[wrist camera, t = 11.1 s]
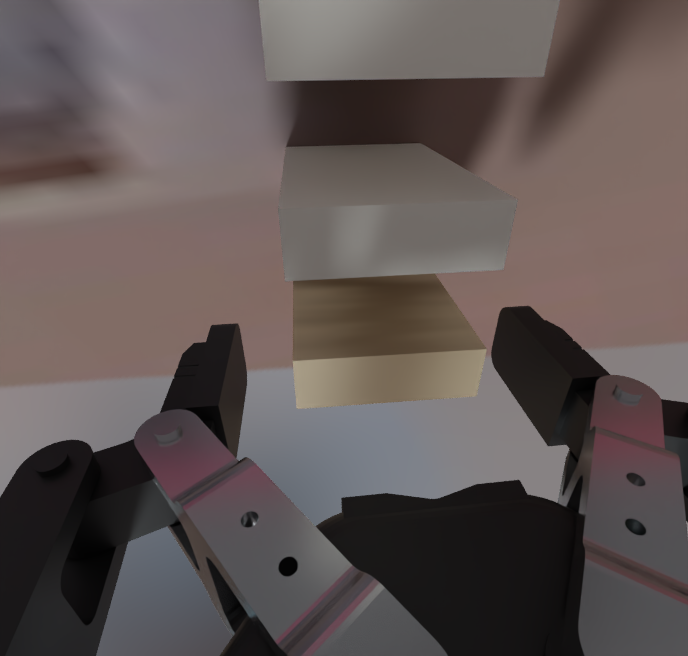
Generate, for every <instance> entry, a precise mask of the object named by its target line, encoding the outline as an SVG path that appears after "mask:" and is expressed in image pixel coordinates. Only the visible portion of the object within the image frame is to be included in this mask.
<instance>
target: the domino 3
mask: <svg viewBox="0 0 688 656" xmlns="http://www.w3.org/2000/svg"><path fill="white" fill-rule="evenodd" d="M486 350H487V349H486V347H485V346H484V344H483V343H482V341H481V340H480V339H479V337H478V336H477V334H476V333H475V331H474V330H473V328H472V327H471V326H470V324H469V323H468V321H467V320H466V318H465V317H464V315H463V314H462V313H461V311H460V310H459V308H458V307H457V305H456V304H455V302H454V301H453V299H452V298H451V297H450V295H449V294H448V292H447V291H446V289H445V288H444V286H443V285H442V284H441V282H440V281H439V279H438V278H437V276H436V275H435V273H433V274H415V275H396V276H377V277H358V278H339V279H321V280H302V281H293V370H294V381H295V393H296V405H297V409H303V408H317V407H330V406H331V407H332V406H345V405H358V404H359V405H360V404H373V403H387V402H402V401H416V400H430V399H444V398H458V397H472V396H477V391H478V387H479V382H480V378H481V373H482V369H483V364H484V359H485V355H486Z"/></svg>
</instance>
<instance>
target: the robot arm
mask: <svg viewBox="0 0 688 656" xmlns="http://www.w3.org/2000/svg"><path fill="white" fill-rule="evenodd" d="M581 348H582V347H581V346H580V345H579V344H578V343H577V342H575V341H573V339H572V338H571V337H570V336H569V335H568V334H567V333H566V332H565V331H564V330H563V329H562V328H560V327H558V326H556V325H554V324H552V323H550V322H548V321H547V320H543V319H542V318H541V317H540V316H539V315H538V314H537V313H536V312H535V311H534V310H533V309H532V308H531V307H530V306H518V307H504V308H503V309H502V310H501V311H500V314H499V318H498V323H497V327H496V332H495V336H494V341H493V346H492V352H491V356H492V362H493V365H494V368H495V369H496V371H497V372H498V374H499V375H500V377H501V378H502V380H503V381H504V382H505V384H506V385H507V387H508V388H509V390H510V391H511V393H512V394H513V396H514V397H515V399H516V400H517V401H518V403H519V404H520V406H521V407H522V409H523V410H524V412H525V413H526V414H527V416H528V418H529V419H530V420H531V422H532V423H533V425H534V426H535V428H536V429H537V431H538V432H539V434H540V435H541V436H542V438H543V439H544V441H545V442H546V444H547V445H548V446H556V445H567V446H568V447H569V451H568V454H567V456H566V460H565V466H564V471H563V476H562V482H561V487H560V492H559V498H558V503H556V502H554V501H551V500H548V499H545V498H541V497H537V496H532V495H527V493H526V491H525V489H524V487H523V486H522V484H521V482H520V481H519V480H514V481H504V482H494V483H485V484H476V485H474V486H471V487H468V488H466V489H463V490H461V491H458V492H455V493H452V494H450V495H447V496H444V497H441V498H438V499H426V498H419V497H411V496H404V495H395V494H388V493H385V494H375V495H365V496H355V497H345V498H342V513H339V514H337V515H334V516H332V517H330V518H328V519H327V520H324V521H323V522H321V523H320V524H318V525H317V526H314V524H312V522H311V521H310V520H309V519H308V518H307V517H306V516H305V515H304V514H303V513H302V512H301V511H300V510H299V509H298V508H297V507H296V506H295V505H294V503H293V502H291V500H290V499H289V498H288V497H287V496H286V495H285V494H284V493H283V492H282V491H281V490H280V489H279V488H278V487H277V486H276V485H275V483H273V482H272V480H271V479H270V478H269V477H268V476H267V475H266V474H265V473H264V472H263V471H262V470H261V469H260V468H259V467H258V466H257V465H256V464H255V463H254V462H253V461H252V460H251V459H249V458H247V457H245V458H243V459H242V460H240V461H238V460H237V459H236V457H237V451H238V444H239V437H240V430H241V423H242V415H243V409H244V402H245V394H246V386H247V370H246V363H245V357H244V351H243V345H242V339H241V333H240V328H239V325H238V324H221V325H212V326H211V328H210V331H209V334H208V337H207V341H206V342H202V343H194V344H193V345H192V346H190V347H189V348H188V349H187V350H186V351H185V352H184V353H183V354H182V357H181V360H180V362H179V365H178V368H177V370H176V373H175V375H174V379H173V380H172V383H171V386H170V388H169V391H168V394H167V396H166V398H165V401H164V404H163V406H162V409H161V412H160V413H159V414H157V415H155V416H153V417H151V418H150V419H148V420H147V421H145V422H144V423H143V424H142V425H141V426H140V427H139V429H138V430H137V432H136V434H135V437H134V439H133V440H131V441H128V442H126V443H123V444H120V445H117V446H114V447H110V448H107V449H104V450H101V451H97V452H94V453H93V451H92V449H91V447H90V446H89V445H88V444H87V443H85V442H83V441H79V440H66V441H61V442H57V443H54V444H51V445H49V446H46V447H44V448H42V449H41V450H39V451H37V452H35V453H34V454H33V455H31V456H30V457H29V458H28V459H26V460H25V461H24V462H23V463H22V464H21V466H20V467H19V468H18V469H17V471H16V473H15V474H14V476H13V477H12V479H11V481H10V482H9V484H8V486H7V487H6V489H5V491H4V492H3V494H2V495H1V497H0V656H96V653H97V650H98V646H99V643H100V639H101V636H102V632H103V629H104V625H105V622H106V618H107V615H108V611H109V608H110V604H111V600H112V597H113V593H114V590H115V586H116V583H117V579H118V576H119V571H120V569H121V565H122V562H123V558H124V554H125V551H126V547H127V544H128V541H131V540H133V539H136V538H139V537H141V536H143V535H146V534H148V533H151V532H154V531H156V530H159V529H161V528H164V527H166V526H167V527H168V528H169V530H170V531H171V533H172V534H173V536H174V538H175V539H176V541H177V542H178V544H179V546H180V547H181V549H182V551H183V552H184V554H185V555H186V557H187V558H188V560H189V562H190V563H191V565H192V567H193V568H194V569H195V571H196V573H197V575H198V576H199V578H200V579H201V581H202V583H203V584H204V587H205V588H206V590H207V592H208V594H209V597H210V598H211V601H212V603H213V604H214V606H215V608H216V610H217V612H218V613H219V615H220V617H221V618H222V620H223V622H224V624H225V625H226V627H227V629H228V630H229V632H230V633H231V635H232V638H231V640H230V641H229V643H228V644H227V646H226V647H225V649H224V650H223V652H222V653H221V655H220V656H688V534H687V524H686V521H687V522H688V403H685V402H677V401H670V400H663V399H661V398H660V397H659V395H658V394H657V393H656V392H655V391H654V390H653V389H652V388H650V387H649V386H647V385H646V384H644V383H642V382H640V381H638V380H635V379H632V378H629V377H625V376H619V375H610V374H609V373H608V372H607V371H606V370H605V369H604V368H603V367H602V366H601V365H600V364H599V363H598V362H596V361H595V360H594V359H593V358H592V357H591V356H590V355H589V354H588V353H587V352H586V351H585V350H584V349H583V350H582V349H581Z"/></svg>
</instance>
